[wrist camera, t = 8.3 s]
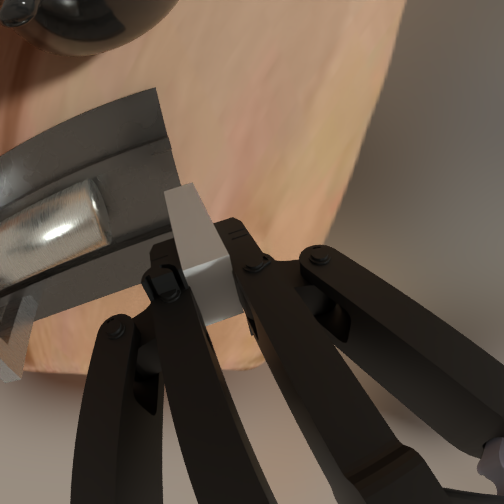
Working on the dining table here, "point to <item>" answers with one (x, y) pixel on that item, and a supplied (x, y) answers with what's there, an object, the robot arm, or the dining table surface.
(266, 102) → the dining table surface
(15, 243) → the tube
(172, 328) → the robot arm
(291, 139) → the dining table surface
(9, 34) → the dining table surface
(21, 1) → the black tall rounded dome
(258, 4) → the dining table surface
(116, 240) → the twin arch cradle
